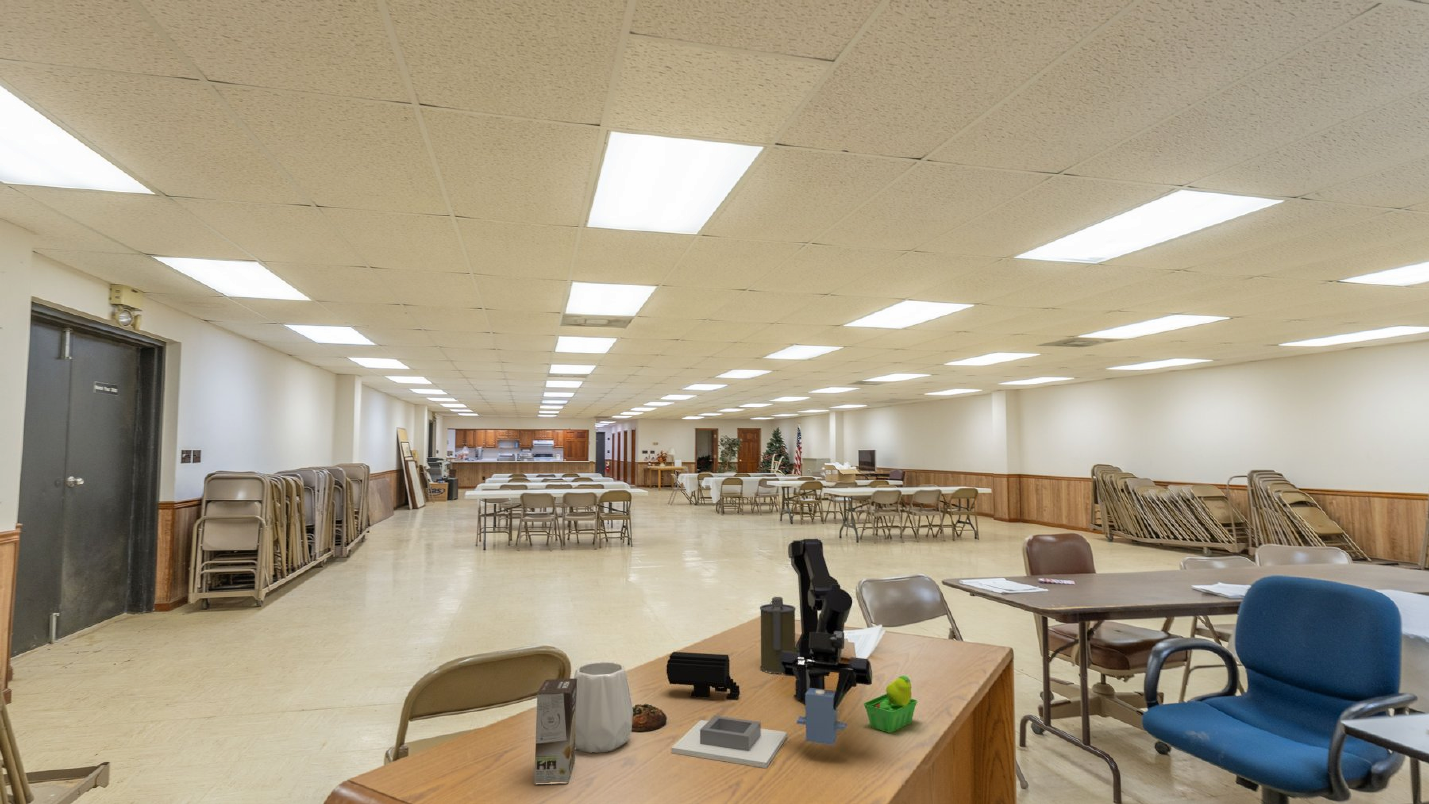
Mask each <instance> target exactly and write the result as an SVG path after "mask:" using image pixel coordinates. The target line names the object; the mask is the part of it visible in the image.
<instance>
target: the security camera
mask: <svg viewBox="0 0 1429 804" xmlns="http://www.w3.org/2000/svg"><path fill="white" fill-rule="evenodd" d="M730 660H731V659H730V657H729V654H721V653H719V654H717V653H704V652H703V653H700V652H685V651H672V653H670V655H669V659H668V660H667V662H666V676H667V680H668V682H669V685H679V686H680V685H683V686H693V690H692V691H691V693H690V698H701V699H702V698H703V699H709V698H710V697H711V688H712V689H714V692H723V693H727V694H726V695H725V696H726V697H725V698H726V699H725V700H729V701H736V700H737V698H739V697H740V695H741V691H740V685H737V682H736V681H734V679H733V678H732V677H731V675H730V669H731V667H730ZM728 690H729V693H728Z"/></svg>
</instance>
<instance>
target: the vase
mask: <svg viewBox="0 0 1429 804" xmlns="http://www.w3.org/2000/svg"><path fill="white" fill-rule="evenodd" d="M575 678H576V679H577V696H576V737H575V748H576V749H575V750H578V749H579V750H578V751H581V750H582V751H581V752H584V751H585V752H584V753H588V752H589V754H593V753H592V752H599V753H607V752H608V751H609V752H612V751H614V750H616V749H617V748H620V747H621V746H623V745H624V744H626V743H627V742H628V741H629V737H630V735H631V733H632V731H631V730H632V718H633V708H632V707H633V703H632V697H631V693H630V686H629V682H628V677H627V673H626V670H625V665H622V664H621V663H618V662H614V661H613V662H612V661H599V662H598V661H596V662H589V663H584V664H583V665H580V666H578V667H577V668H576V669H575V671H574V678H573V679H575Z"/></svg>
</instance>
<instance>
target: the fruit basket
mask: <svg viewBox="0 0 1429 804" xmlns="http://www.w3.org/2000/svg"><path fill="white" fill-rule="evenodd" d="M885 691H886V693H883V694H882V695H880V696H877V697H875V698H872V699H871V700H868V701H865V702H863V706H864V708H865V710H866V713H867V717H868V720H869V724H870V725H869V726H870V727H871V728H873V729H876V730H879V731H883V732H886V733H889V734H892V733H894V732H896V731H898V730H900V729H901V728H904V727H906V726H908V725H910V724H912V721H913V716H914V712H915V708H916V705H917V703H918V700H917V699H913V698H912V683H911V679H910V678H909V677H908V676H907V675H906V676H905V675H899V676H898V678H896V679H895V680H893V681H892V682H890V683H889V684H888V685H887V686H886V688H885Z"/></svg>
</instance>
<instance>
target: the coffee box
mask: <svg viewBox="0 0 1429 804" xmlns="http://www.w3.org/2000/svg"><path fill="white" fill-rule="evenodd" d="M576 696H577V679H576V678H575V679H574V678H572V677H571V678H570V677H569V678H555V679H554V678H552V679H545V681H544V682H543V684H542V685H541V687H540V688H539V689H538V690H537V693H536V718H535V719H536V720H535V721H536V722H535V723H536V725H535V748H534V749H535V753H534V755H535V756H534V758H535V759H534V780H533V781H534V782H533V783H534V784H536V783H550V782H568V783H569V782H570V779H571V776H570V775H572V773H573V769H574V767H575V763H576V749H575V737H576Z"/></svg>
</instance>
